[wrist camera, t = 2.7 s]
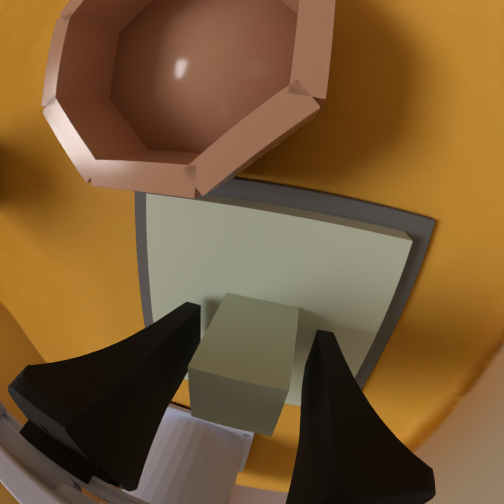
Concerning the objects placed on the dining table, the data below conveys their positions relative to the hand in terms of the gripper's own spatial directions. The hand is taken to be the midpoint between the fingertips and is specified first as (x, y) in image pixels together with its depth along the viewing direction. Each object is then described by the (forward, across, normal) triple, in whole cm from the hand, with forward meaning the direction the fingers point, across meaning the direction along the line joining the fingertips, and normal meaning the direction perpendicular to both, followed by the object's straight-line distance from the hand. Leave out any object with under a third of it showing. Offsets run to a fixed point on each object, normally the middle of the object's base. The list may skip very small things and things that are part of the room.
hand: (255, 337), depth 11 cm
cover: (+2, 0, 0) cm, 2 cm away
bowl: (+2, +4, -10) cm, 11 cm away
